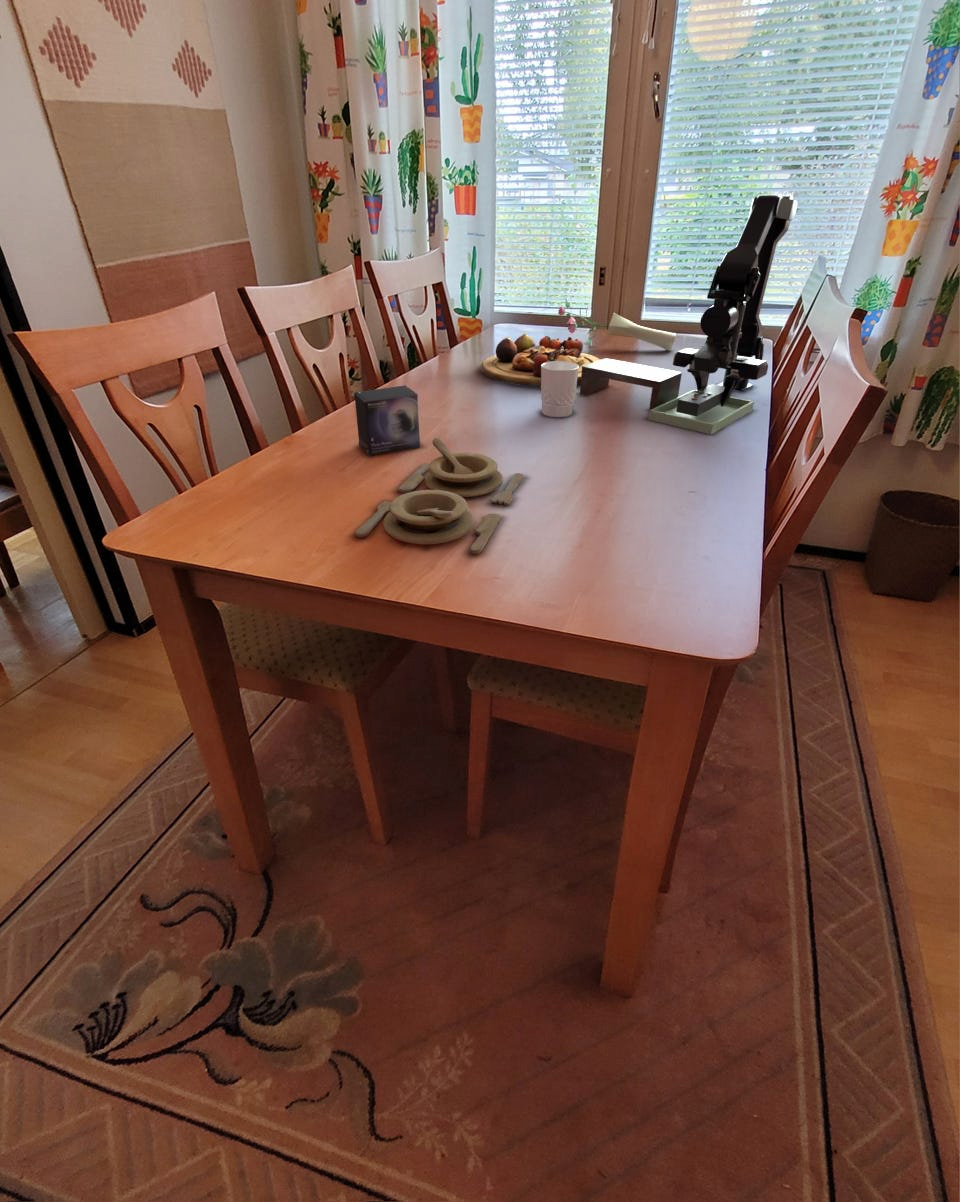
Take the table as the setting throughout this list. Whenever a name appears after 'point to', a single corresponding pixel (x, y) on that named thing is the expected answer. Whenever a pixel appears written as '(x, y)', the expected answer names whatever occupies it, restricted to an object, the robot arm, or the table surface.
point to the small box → (387, 419)
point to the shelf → (631, 379)
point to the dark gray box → (701, 400)
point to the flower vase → (625, 329)
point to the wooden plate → (532, 359)
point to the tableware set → (443, 500)
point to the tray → (702, 415)
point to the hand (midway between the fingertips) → (711, 403)
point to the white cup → (558, 388)
